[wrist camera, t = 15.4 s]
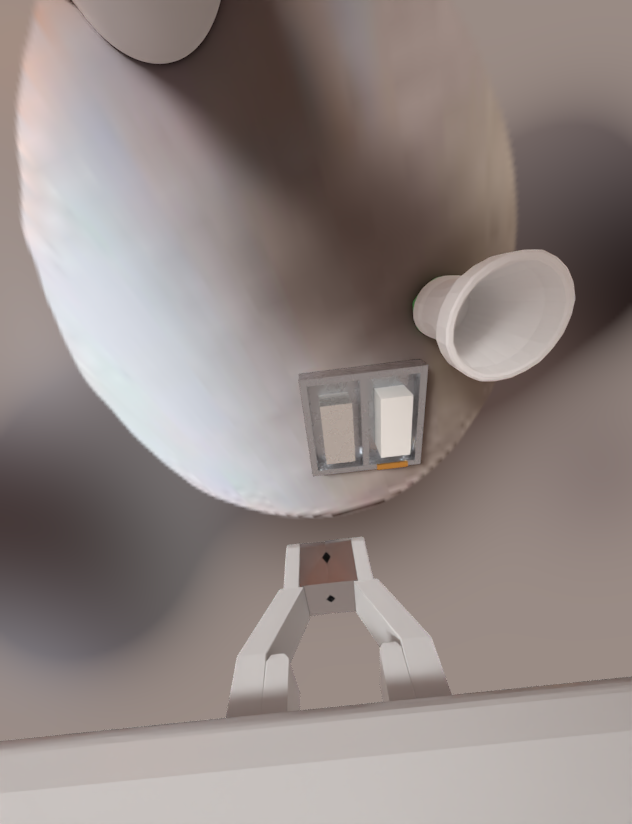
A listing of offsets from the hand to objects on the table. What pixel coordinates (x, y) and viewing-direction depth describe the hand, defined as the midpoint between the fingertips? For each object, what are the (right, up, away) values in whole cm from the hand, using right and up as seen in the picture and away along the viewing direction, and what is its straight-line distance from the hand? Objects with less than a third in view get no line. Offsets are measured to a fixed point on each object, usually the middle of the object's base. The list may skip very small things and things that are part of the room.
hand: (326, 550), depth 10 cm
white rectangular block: (+11, +5, +32) cm, 34 cm away
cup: (+16, +20, +26) cm, 36 cm away
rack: (+7, +5, +33) cm, 34 cm away
